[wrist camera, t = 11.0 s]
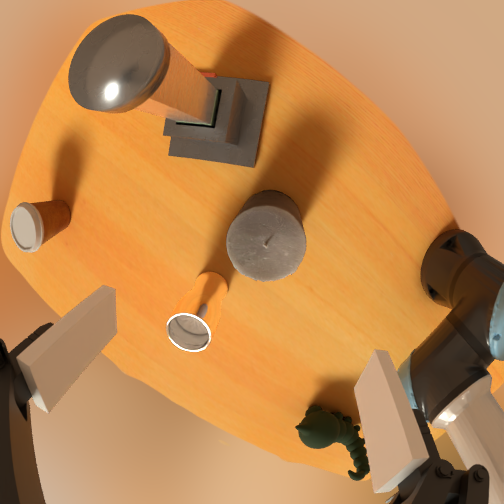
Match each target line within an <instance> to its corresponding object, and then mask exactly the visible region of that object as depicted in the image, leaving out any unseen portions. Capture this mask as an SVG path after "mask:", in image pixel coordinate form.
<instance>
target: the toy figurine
mask: <svg viewBox="0 0 504 504" xmlns="http://www.w3.org/2000/svg"><path fill="white" fill-rule="evenodd" d="M305 416H306V417H305V418H304V419H303V420H302V421H301V423H299V425H297V426H296V427H295V428H296V429H297V430H298V431H299V437H300V439H301V441H302V442H303V443H304V444H305V445H306V446H308V447H310V448H314V449H321V448H325V447H328V446H330V445H331V444H333V443H335V442H338V443H342V444H343V445H345V446H346V448H347V450H348V451H349V452H350V456H351V458H352V459H353V460H354V466H355V467H356V468H357V472H356V473H355V472H352V471H351V470H349V471H348V474H349V476H350V478H351V479H353V480H356V481H358V480H361V479H363V478H364V477H365V475H366V474H368V473H369V471H370V466H369V464H368V463H369V460H368V457H367V456H366V454H367V449H365V447H363V446H364V444H365V439H364V438H362V439H361V438H360V437H359V434H358V431H360V426H359V425H356V426H353V425H352V424H351V422H352V419H351V417H346V418H345V419H344V421H343V420H342V419H343V415H342V413H341V412H336V413H335V414H331V413H329V412H326V411H323V410H322V409H321V407H320V406H317V405H315V406H312V407H310V408H309V409H308V410H307V411H306V413H305Z"/></svg>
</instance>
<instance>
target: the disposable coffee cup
mask: <svg viewBox="0 0 504 504" xmlns="http://www.w3.org/2000/svg"><path fill="white" fill-rule="evenodd" d="M70 220H71V214H70V210H69V207H68V206H67V204H66V203H65V202H64V201H61V200H56V201H46V202H37V203H27V202H23V203H20V204H19V205H18V206H17V207H16V208H15V209H14V210H13V212H12V215H11V219H10V228H11V234H12V237H13V239H14V242H15V243H16V245H17V246H18V248H19V249H21V250H22V251H24V252H35V251H37V250H38V249H39V247H40V246H41V245H42V244H44V243H45V242H46V241H48V240H49V239H51V238H52V237H53V236H55V235H56V234H58V233H59V232H60V231H62V230H64V229H65V228H67V227H68V225H69V223H70Z"/></svg>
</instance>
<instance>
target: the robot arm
mask: <svg viewBox="0 0 504 504" xmlns="http://www.w3.org/2000/svg"><path fill="white" fill-rule="evenodd" d="M421 282H422V286H423V289H424V291H425V292H426V294H427V295H428V296H429V297H430V298H431V299H432V300H433V301H434V302H435V303H437V304H439V305H442V306H445V307H448V308H451V309H452V311H451V312H450V313H449V314H448V315H447V316H446V318H445V319H444V320H443V321H442V322H441V323H440V324H439V325H438V327H437V328H436V329H435V330H434V331H433V332H432V333H431V334H430V335H429V336H428V337H427V338H426V339H425V340H424V341H423V342H422V343H421V344H420V345H419V346H418V347H417V348H416V349H414V350H413V351H412V352H411V354H410V356H409V357H408V358H407V359H406V360H405V361H404V362H403V363H402V364H401V365H400V367H399V369H398V372H397V371H396V369H395V367H394V364H393V362H392V360H391V358H390V355H389V353H388V351H383V350H376V349H375V350H374V352H373V354H372V356H371V357H370V359H369V361H368V363H367V365H366V367H365V369H364V371H363V373H362V374H361V376H360V378H359V380H358V382H357V383H356V385H355V387H354V392H355V396H356V401H357V405H358V410H359V415H360V419H361V424H362V429H363V434H364V439H365V444H366V449H367V455H368V460H369V466H370V472H371V478H372V484H373V491H374V493H380V492H390V491H391V490H392V489H394V488H395V487H396V486H397V485H398V488H399V491H398V492H397V493H396V494H394V495H393V496H392V497H390V498H389V499H388V500H387V501H386V503H388V502H389V501H391V502H390V503H389V504H504V412H503V410H502V408H501V407H500V405H499V404H498V403H497V401H496V400H495V398H494V397H493V395H492V394H491V391H490V388H491V382H492V377H491V375H490V374H489V372H488V371H487V367H488V366H489V365H490V364H491V363H492V362H493V361H494V359H496V360H501V361H504V264H502V263H501V262H499V261H498V260H496V259H494V258H493V257H491V256H489V255H488V254H487V253H486V251H485V250H484V248H483V247H482V245H481V244H480V242H479V241H478V240H477V239H476V238H475V237H474V236H473V235H472V234H470V233H468V232H466V231H464V230H459V229H455V230H450V231H447V232H445V233H443V234H442V235H440V236H439V237H438V238H437V239H436V240H435V241H434V242H433V243H432V245H431V246H430V247H429V249H428V251H427V253H426V255H425V257H424V260H423V263H422V268H421ZM116 333H117V321H116V294H115V289H114V288H111V287H108V286H105V285H103V286H101V287H100V288H99V289H97V290H96V291H95V292H94V293H92V294H91V295H90V296H88V297H87V298H86V299H85V300H83V301H82V302H81V303H80V304H78V305H77V306H76V307H75V308H73V309H72V310H71V311H70V312H68V313H67V314H66V315H65V316H64V317H62V318H61V319H60V320H59V321H58V322H56V323H55V324H52V323H47V324H45V325H43V326H40V327H39V328H38V329H37V330H36V331H34V332H33V333H32V334H31V335H29V336H28V338H26V339H25V340H23V341H22V342H21V343H20V344H19V345H18V346H16V347H15V348H14V349H13V350H12V351H11V352H10V353H8V351H7V348H6V345H5V343H4V341H3V340H2V339H0V504H46V503H45V500H44V496H43V492H42V488H41V483H40V479H39V474H38V469H37V464H36V458H35V452H34V445H33V437H32V429H31V418H30V405H29V402H28V400H29V399H30V398H31V397H32V398H33V400H34V402H35V404H36V406H38V407H39V408H41V409H42V410H44V411H45V412H47V413H50V411H51V410H52V409H53V408H54V407H55V405H56V404H57V403H58V401H59V400H60V399H61V398H62V397H63V395H64V394H65V393H66V392H67V391H68V389H69V388H70V387H71V386H72V384H73V383H74V382H75V381H76V380H77V379H78V377H79V376H80V375H81V374H82V372H83V371H84V370H85V369H86V368H87V367H88V365H89V364H90V363H91V362H92V361H93V360H94V359H95V357H96V356H97V355H98V354H99V353H100V352H101V350H102V349H103V348H104V347H105V346H106V345H107V344H108V343H109V341H110V340H111V339H112V338H113V337H114V336H115V335H116ZM427 422H430V424H431V425H432V427H433V428H441V429H445V430H446V431H447V433H448V435H449V437H450V438H451V440H452V442H453V444H454V445H455V447H456V449H457V451H458V453H459V455H460V456H461V459H462V460H463V462H464V464H465V466H466V468H467V471H462V470H455V469H454V468H453V466H452V464H451V463H449V462H448V461H446V460H443V459H440V457H439V453H438V451H437V448H436V445H435V443H434V440H433V437H432V434H430V429H429V427H428V424H427Z"/></svg>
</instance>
